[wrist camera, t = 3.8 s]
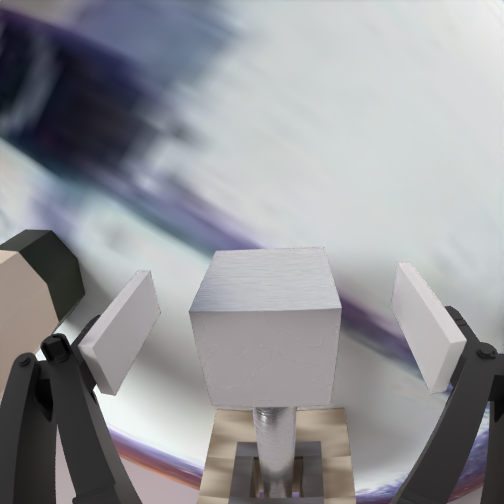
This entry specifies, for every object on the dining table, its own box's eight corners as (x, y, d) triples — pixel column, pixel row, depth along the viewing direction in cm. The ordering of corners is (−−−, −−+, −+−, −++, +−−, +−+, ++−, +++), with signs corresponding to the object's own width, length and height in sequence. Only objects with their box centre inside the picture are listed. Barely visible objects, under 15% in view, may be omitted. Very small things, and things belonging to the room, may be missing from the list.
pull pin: (254, 484, 25) (250, 525, 20) (216, 250, 15) (188, 311, 10) (304, 484, 24) (304, 525, 20) (323, 246, 14) (341, 307, 10)
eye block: (227, 449, 30) (212, 536, 20) (215, 406, 27) (192, 513, 16) (334, 448, 29) (340, 537, 18) (344, 404, 26) (358, 514, 15)
